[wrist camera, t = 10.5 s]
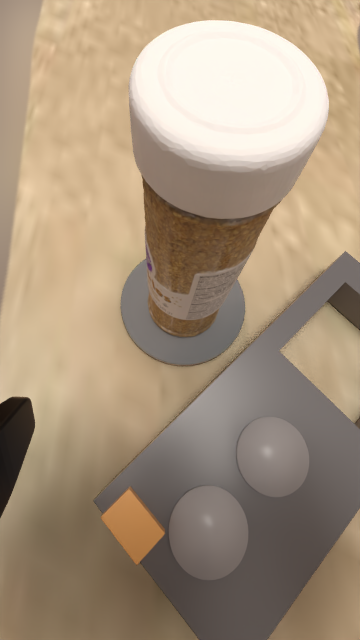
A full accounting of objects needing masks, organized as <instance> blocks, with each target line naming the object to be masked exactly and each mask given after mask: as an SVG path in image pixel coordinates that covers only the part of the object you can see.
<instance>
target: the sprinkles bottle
mask: <svg viewBox="0 0 360 640" xmlns="http://www.w3.org/2000/svg"><path fill="white" fill-rule="evenodd" d="M129 107H130V121H131V134H132V143H133V153H134V157H135V161H136V164H137V167H138V169H139V170H140V172H141V174H142V178H143V188H144V209H145V222H146V226H145V244H146V260H147V280H148V288H149V296H148V307H149V313H150V315H151V317H152V319H153V321H154V322H155V323H156V324H157V325H158V326H159V327H160V328H161V329H162V330H163V331H165V332H167V333H169V334H171V335H174V336H179V337H192V336H196V335H198V334H200V333H203V332H204V331H206V330H207V329H208V328H210V326H211V325H212V324H213V323H214V321H215V319H216V316H217V314H218V311H219V308H220V307H221V306H222V304H223V303H224V301H225V300H226V298H227V296H228V294H229V292H230V291H231V289H232V287H233V285H234V283H235V282H236V280H237V278H238V276H239V275H240V273H241V271H242V269H243V267H244V266H245V264H246V262H247V260H248V258H249V257H250V255H251V253H252V251H253V249H254V247H255V245H256V242H257V239H258V237H259V235H260V233H261V231H262V229H263V227H264V225H265V224H266V222H267V220H268V218H269V216H270V214H271V212H272V210H273V209H274V208H275V207H276V206H277V205H278V204H279V203H280V202H281V200H282V199H283V198H284V197H285V196H286V195H287V194H288V192H289V191H290V190H291V189H292V187H293V186H294V184H295V182H296V181H297V179H298V177H299V175H300V174H301V172H302V170H303V168H304V167H305V165H306V163H307V161H308V159H309V157H310V156H311V154H312V152H313V150H314V148H315V146H316V145H317V143H318V141H319V139H320V137H321V135H322V133H323V131H324V128H325V125H326V122H327V118H328V111H329V100H328V94H327V90H326V86H325V83H324V81H323V78H322V76H321V75H320V73H319V71H318V70H317V68H316V67H315V65H314V64H313V63H312V61H311V60H310V59H309V58H308V57H307V56H306V55H305V54H304V53H303V52H302V51H301V50H300V49H298V48H297V47H296V46H295V45H293V44H292V43H291V42H289V41H287V40H286V39H284V38H282V37H280V36H278V35H276V34H274V33H272V32H271V31H268V30H266V29H263V28H260V27H257V26H253V25H250V24H245V23H240V22H234V21H221V20H208V21H199V22H192V23H188V24H184V25H181V26H178V27H175V28H172V29H170V30H168V31H166V32H164V33H163V34H161V35H159V36H158V37H156V38H155V39H154V40H152V41H151V42H150V43H149V44H148V45H147V46H146V47H145V48H144V49H143V51H142V52H141V53H140V55H139V56H138V58H137V59H136V61H135V64H134V66H133V69H132V72H131V76H130V80H129Z"/></svg>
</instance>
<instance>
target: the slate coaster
mask: <svg viewBox="0 0 360 640" xmlns="http://www.w3.org/2000/svg"><path fill="white" fill-rule="evenodd" d="M148 296H149V288H148V280H147V260H146V259H145V260H143V261H142V262H141V263H140V264H139V265H137V266H136V268H135V269H134V270H133V271H132V272H131V274H130V275H129V277H128V278H127V281H126V283H125V285H124V288H123V291H122V296H121V313H122V318H123V321H124V324H125V327H126V329H127V332H128V334H129V335H130V337H131V339H132V340H133V341H134V343H135V344H136V345H137V346H138V347H139V348H140V349H141V350H142V351H143V352H145V353H146V354H147V355H149V356H150V357H152V358H154V359H156V360H158V361H161V362H163V363H167V364H171V365H178V366H191V365H197V364H201V363H204V362H207V361H209V360H212V359H214V358H215V357H217V356H218V355H220V354H221V353H222V352H224V351H225V350H226V349H227V348H228V347H229V346H230V345H231V344H232V342H233V341H234V340H235V338H236V337H237V335H238V334H239V332H240V329H241V327H242V324H243V321H244V315H245V301H244V295H243V291H242V289H241V286H240V284H239V282H238V280H236V282H235V283H234V285H233V287H232V289H231V291H230V292H229V294H228V296H227V298H226V300H225V301H224V303H223V304H222V306H221V307H220V308H219V311H218V314H217V316H216V319H215V321H214V323H213V324H212V325H211V326H210V328H208V329H207V330H206V331H204V332H203V333H200V334H198V335H196V336H192V337H179V336H174V335H171V334H169V333H167V332H165V331H163V330H162V329H161V328H160V327H159V326H158V325H157V324H156V323H155V322H154V321H153V319H152V317H151V315H150V313H149V307H148Z"/></svg>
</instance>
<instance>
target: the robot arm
mask: <svg viewBox="0 0 360 640" xmlns="http://www.w3.org/2000/svg"><path fill="white" fill-rule="evenodd" d="M34 429H35V419H34V414H33V408H32V403H31V400H30V399H29V398H28V397H11V398H9V399H7V400H6V401H4V402H2V403H1V404H0V518H1V516H2V513H3V511H4V509H5V507H6V505H7V503H8V500H9V498H10V496H11V494H12V491H13V489H14V486H15V483H16V481H17V478H18V475H19V472H20V469H21V467H22V464H23V461H24V458H25V455H26V452H27V449H28V447H29V444H30V441H31V438H32V435H33V432H34Z"/></svg>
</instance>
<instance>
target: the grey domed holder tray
mask: <svg viewBox="0 0 360 640" xmlns="http://www.w3.org/2000/svg"><path fill="white" fill-rule="evenodd" d="M327 301H328V302H329V303H330V304H331V305H333V306H334V307H335V308H336V309H337V310H338V311H339V312H340V313H342V314H343V315H344V316H345V317H346V318H347V319H348V320H349V321H351V322H352V323H353V324H354V325H355V326H356V327H357V328H358V329H360V263H359V262H358V261H357V260H356V259H354V258H353V257H352V256H351V255H350V254H348V253H347V252H346V251H345V252H344V253H343V254H342V255H341V256H340V257H339V258H338V259H336V260H335V261H334V262H333V263H332V264H331V265H330V266H329V267H328V268H327V269H325V270H324V271H323V272H322V273H321V274H320V275H319V276H318V277H317V278H316V279H315V280H314V281H313V282H312V283H311V284H310V285H309V286H308V287H307V288H306V289H305V290H304V291H303V292H302V293H301V294H300V295H299V296H298V297H297V298H296V299H295V300H294V301H293V302H292V303H291V304H290V305H289V306H288V307H287V308H286V309H285V310H284V311H283V312H282V313H281V314H280V315H279V316H278V317H277V318H276V319H275V320H274V321H273V322H272V323H271V324H270V325H269V326H268V327H267V328H266V329H265V330H264V331H263V332H262V333H261V334H260V335H259V336H258V337H257V338H256V339H255V340H254V341H253V342H252V343H250V344H249V345H248V346H247V347H246V348H245V349H244V350H243V351H242V352H241V353H240V354H239V355H238V356H237V357H236V358H235V359H234V360H233V361H232V362H231V363H230V364H229V365H228V366H227V367H226V368H225V369H224V370H223V371H222V372H221V373H220V374H219V375H218V376H217V377H216V378H215V379H214V380H213V381H212V382H211V383H210V384H209V385H208V386H207V387H206V388H205V389H204V390H203V391H202V392H201V393H200V394H199V395H198V396H197V397H196V398H195V399H194V400H193V401H192V402H191V403H190V404H189V405H188V406H187V407H186V408H185V409H184V410H183V411H182V412H181V413H180V414H179V415H178V416H177V417H176V418H175V419H174V420H173V421H171V422H170V423H169V424H168V425H167V426H166V427H165V428H164V429H163V430H162V431H161V432H160V433H159V434H158V435H157V436H156V437H155V438H154V439H153V440H152V441H151V442H150V443H149V444H148V445H147V446H146V447H145V448H144V449H143V450H142V451H141V452H140V453H139V454H138V455H137V456H136V457H135V458H134V459H133V460H132V461H131V462H130V463H129V464H128V465H127V466H126V467H125V468H124V469H123V470H122V471H121V472H120V473H119V474H118V475H117V476H116V477H115V478H114V479H113V480H112V481H111V482H110V483H109V484H108V485H107V486H106V487H105V488H104V489H103V490H102V491H101V492H100V493H99V495H98V496H97V497H96V498H95V499H94V503H95V504H96V505H97V507H98V508H99V509H100V511H101V512H102V513H103V514H102V516H101V519H102V520H103V522H104V523H105V524H106V526H107V527H108V528H109V530H110V531H111V532H112V534H113V535H114V536H115V537H116V539H117V540H118V541H119V543H120V544H121V545H122V547H123V548H124V549H125V551H126V552H127V553H128V555H129V556H130V557H131V558H132V560H133V561H134V562H135V564H136V565H137V564H138V563H139V562H140V563H141V564H142V565H143V567H144V568H145V569H146V571H147V572H148V573H149V575H150V576H151V577H152V578H153V580H154V581H155V582H156V584H157V585H158V586H159V588H160V589H161V590H162V591H163V593H164V594H165V595H166V597H167V598H168V599H169V601H170V602H171V603H172V605H173V606H174V607H175V608H176V610H177V611H178V612H179V614H180V615H181V616H182V618H183V619H184V620H185V621H186V623H187V624H188V625H189V627H190V628H191V629H192V631H193V632H194V633H195V635H196V636H197V637H198V638H199V640H267V639H268V638H269V636H270V635H271V634H272V632H273V631H274V629H275V628H276V626H277V625H278V624H279V622H280V621H281V619H282V618H283V617H284V615H285V614H286V612H287V611H288V609H289V608H290V607H291V605H292V604H293V602H294V601H295V599H296V598H297V597H298V595H299V594H300V592H301V591H302V589H303V588H304V587H305V585H306V584H307V582H308V581H309V580H310V578H311V577H312V575H313V574H314V572H315V571H316V570H317V568H318V567H319V565H320V564H321V562H322V561H323V560H324V558H325V557H326V555H327V554H328V553H329V551H330V550H331V548H332V547H333V545H334V544H335V543H336V541H337V540H338V538H339V537H340V535H341V534H342V533H343V531H344V530H345V528H346V527H347V525H348V524H349V523H350V521H351V520H352V518H353V517H354V516H355V514H356V513H357V511H358V510H359V508H360V418H359V419H358V421H357V422H356V423H355V424H354V423H353V422H352V421H351V420H350V419H349V418H348V417H347V416H346V415H345V414H343V413H342V412H341V411H340V410H339V409H338V408H337V407H336V406H335V405H334V404H333V403H332V402H331V401H330V400H329V399H328V398H327V397H326V396H325V395H324V394H323V393H322V392H321V391H320V390H319V389H318V388H317V387H316V386H315V385H314V384H312V383H311V382H310V381H309V380H308V379H307V378H306V377H305V376H304V375H303V374H302V373H301V372H300V371H299V370H298V369H297V368H296V367H295V366H294V365H293V364H292V363H291V362H290V361H289V360H288V359H287V358H286V357H285V356H284V355H282V354H281V353H280V352H279V350H280V349H281V348H282V347H283V346H284V345H285V344H286V343H287V342H288V341H289V340H290V339H291V338H292V337H293V336H294V335H295V334H296V333H297V332H298V331H299V330H300V328H301V327H302V326H303V325H304V324H305V323H306V322H307V321H308V320H309V319H310V318H311V317H312V316H313V315H314V314H315V313H316V312H317V311H318V310H319V309H320V308H321V307H322V306H323V305H324V304H325V303H326V302H327Z"/></svg>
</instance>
